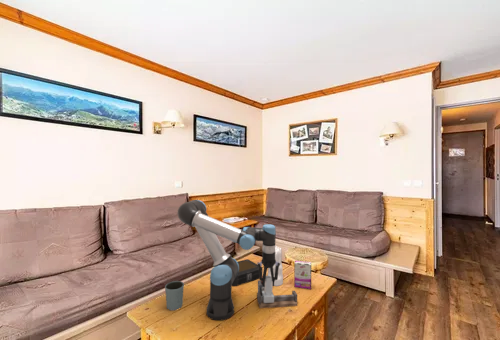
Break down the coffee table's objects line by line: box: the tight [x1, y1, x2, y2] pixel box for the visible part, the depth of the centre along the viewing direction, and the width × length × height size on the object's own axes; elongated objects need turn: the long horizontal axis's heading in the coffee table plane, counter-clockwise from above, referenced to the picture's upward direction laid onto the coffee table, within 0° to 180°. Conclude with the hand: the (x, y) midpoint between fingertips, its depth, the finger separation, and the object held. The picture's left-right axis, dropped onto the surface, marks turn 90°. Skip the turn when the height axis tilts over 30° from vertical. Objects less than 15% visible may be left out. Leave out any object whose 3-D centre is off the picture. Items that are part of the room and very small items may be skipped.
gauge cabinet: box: [257, 279, 264, 296], centre depth 145 cm, size 7×6×8 cm
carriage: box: [262, 275, 274, 303], centre depth 136 cm, size 6×6×14 cm
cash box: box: [232, 259, 263, 287], centre depth 169 cm, size 25×20×8 cm
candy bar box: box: [293, 260, 312, 290], centre depth 156 cm, size 11×5×16 cm, turn 76°
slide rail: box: [256, 290, 298, 309], centre depth 137 cm, size 23×8×6 cm, turn 98°
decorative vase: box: [267, 245, 284, 287], centre depth 162 cm, size 11×11×25 cm
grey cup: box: [164, 280, 185, 311], centre depth 132 cm, size 10×10×12 cm
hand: (268, 291), depth 136 cm, fingers closed on carriage, 3 cm apart
